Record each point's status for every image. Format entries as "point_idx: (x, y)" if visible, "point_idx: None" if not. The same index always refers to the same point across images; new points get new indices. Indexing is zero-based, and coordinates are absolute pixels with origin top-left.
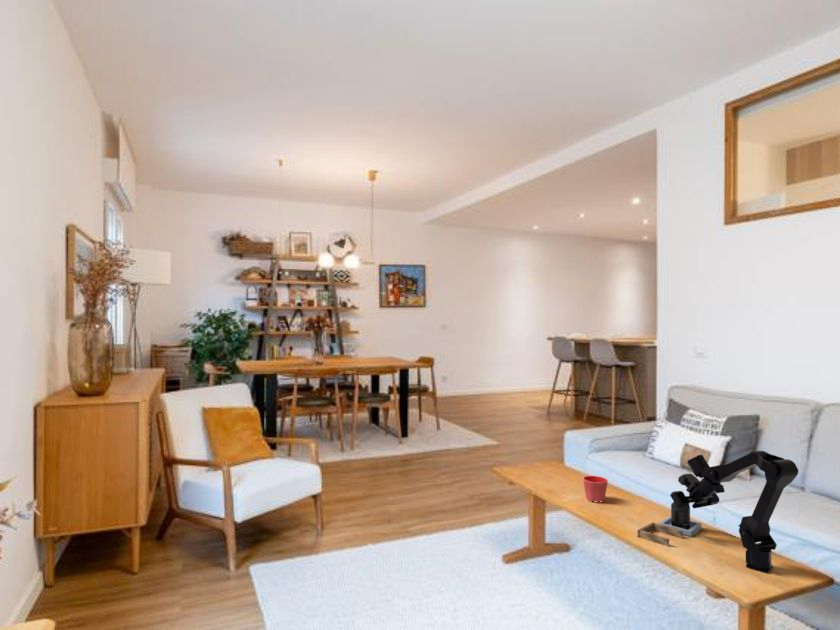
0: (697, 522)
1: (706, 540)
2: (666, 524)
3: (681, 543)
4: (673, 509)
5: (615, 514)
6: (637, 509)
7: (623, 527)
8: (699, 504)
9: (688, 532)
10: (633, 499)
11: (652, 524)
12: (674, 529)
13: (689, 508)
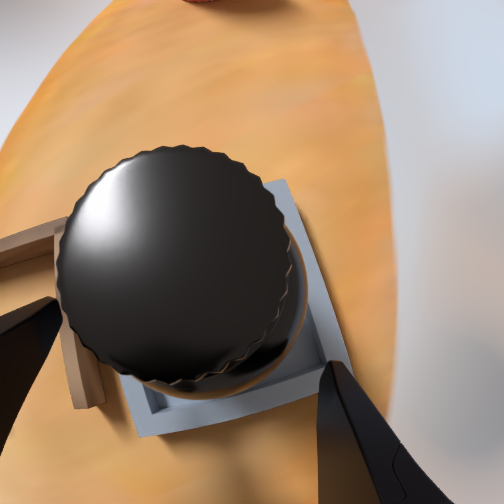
0: (343, 355)
1: (196, 493)
2: None
3: (49, 431)
4: (53, 302)
5: (129, 62)
6: (260, 55)
7: (21, 165)
8: (330, 488)
9: (137, 423)
10: (333, 20)
11: (40, 238)
12: (67, 364)
13: (226, 396)
